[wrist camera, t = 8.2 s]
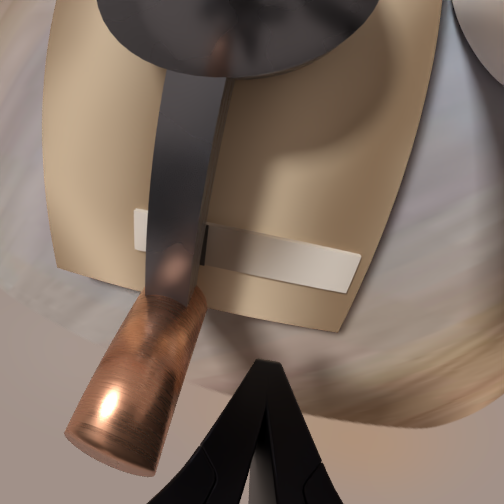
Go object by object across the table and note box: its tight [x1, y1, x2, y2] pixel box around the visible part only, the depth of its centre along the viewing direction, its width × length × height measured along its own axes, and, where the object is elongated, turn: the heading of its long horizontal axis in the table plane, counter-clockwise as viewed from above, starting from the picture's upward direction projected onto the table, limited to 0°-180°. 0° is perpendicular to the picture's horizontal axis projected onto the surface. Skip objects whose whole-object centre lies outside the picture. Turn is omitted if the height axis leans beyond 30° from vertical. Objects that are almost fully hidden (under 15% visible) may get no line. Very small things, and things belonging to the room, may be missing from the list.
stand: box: [42, 0, 442, 333], centre depth 9 cm, size 13×16×2 cm
